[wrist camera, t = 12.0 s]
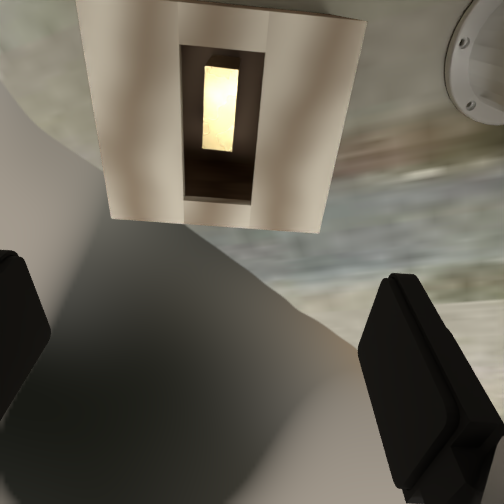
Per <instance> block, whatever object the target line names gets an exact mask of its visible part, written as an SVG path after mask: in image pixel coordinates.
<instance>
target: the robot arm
mask: <svg viewBox="0 0 504 504" xmlns="http://www.w3.org/2000/svg"><path fill="white" fill-rule="evenodd" d="M461 39H462V43H461V44H460V45H459V42H460V41H461ZM445 81H446V88H447V91H448V94H449V96H450V99H451V101H452V102H453V103H454V105H455V106H456V108H457V109H458V110H459V111H460V112H462V113H463V114H464V115H465V116H467V117H469V118H471V119H473V120H474V121H477V122H480V123H483V124H488V125H504V0H474V1H473V2H472V4H471V5H470V6H469V8H468V9H467V10H466V12H465V13H464V15H463V17H462V18H461V20H460V22H459V24H458V25H457V27H456V29H455V31H454V34H453V37H452V39H451V42H450V44H449V48H448V52H447V57H446V61H445ZM468 103H469V104H468ZM467 104H468V105H467ZM50 335H51V329H50V326H49V323H48V321H47V318H46V315H45V313H44V310H43V307H42V305H41V302H40V299H39V297H38V294H37V292H36V289H35V286H34V284H33V281H32V278H31V276H30V273H29V271H28V268H27V265H26V263H25V261H24V259H23V258H22V257H19V256H18V254H17V253H16V252H15V251H11V250H0V420H1V419H2V417H3V415H4V414H5V412H6V410H7V409H8V407H9V406H10V404H11V402H12V401H13V399H14V397H15V396H16V394H17V392H18V391H19V389H20V388H21V386H22V384H23V383H24V381H25V379H26V377H27V376H28V374H29V373H30V371H31V369H32V368H33V366H34V364H35V363H36V361H37V360H38V358H39V356H40V355H41V353H42V351H43V350H44V348H45V346H46V345H47V343H48V341H49V339H50ZM358 357H359V361H360V364H361V368H362V372H363V375H364V379H365V383H366V386H367V390H368V393H369V397H370V400H371V404H372V407H373V411H374V414H375V418H376V422H377V425H378V429H379V432H380V436H381V439H382V443H383V447H384V450H385V454H386V457H387V461H388V464H389V468H390V471H391V475H392V478H393V481H394V484H395V486H396V487H397V488H399V489H402V490H403V494H404V497H405V501H406V503H412V504H504V423H503V421H502V420H501V418H500V416H499V414H498V413H497V411H496V409H495V408H494V406H493V404H492V402H491V401H490V399H489V397H488V395H487V394H486V392H485V390H484V389H483V387H482V385H481V383H480V382H479V380H478V378H477V376H476V375H475V373H474V371H473V370H472V368H471V366H470V364H469V363H468V361H467V359H466V357H465V356H464V354H463V352H462V351H461V349H460V347H459V345H458V344H457V342H456V340H455V339H454V337H453V335H452V333H451V332H450V331H449V330H448V329H447V328H446V326H445V325H444V323H443V321H442V319H441V318H440V316H439V314H438V312H437V311H436V309H435V307H434V305H433V304H432V302H431V300H430V298H429V297H428V295H427V293H426V291H425V290H424V288H423V286H422V284H421V283H420V281H419V279H418V278H417V276H416V275H414V274H400V273H392V274H390V275H389V277H388V278H384V279H383V280H382V281H381V284H380V287H379V289H378V292H377V295H376V298H375V300H374V303H373V306H372V309H371V312H370V314H369V317H368V320H367V323H366V326H365V328H364V331H363V334H362V337H361V339H360V342H359V345H358Z"/></svg>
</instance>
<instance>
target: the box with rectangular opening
mask: <svg viewBox="0 0 504 504" xmlns="http://www.w3.org/2000/svg"><path fill="white" fill-rule="evenodd" d="M75 1H76V7H77V13H78V19H79V25H80V31H81V37H82V43H83V49H84V55H85V62H86V68H87V74H88V80H89V86H90V92H91V98H92V104H93V110H94V116H95V123H96V129H97V135H98V141H99V147H100V153H101V159H102V165H103V171H104V177H105V184H106V189H107V196H108V202H109V208H110V213H111V219H124V220H138V221H152V222H166V223H180V224H194V225H208V226H221V227H235V228H249V229H263V230H277V231H291V232H305V233H319V231H320V227H321V223H322V218H323V214H324V209H325V205H326V201H327V196H328V192H329V188H330V183H331V179H332V175H333V170H334V166H335V162H336V157H337V153H338V148H339V144H340V140H341V135H342V131H343V127H344V122H345V118H346V114H347V109H348V105H349V100H350V96H351V92H352V87H353V83H354V79H355V74H356V70H357V66H358V61H359V57H360V53H361V48H362V44H363V39H364V35H365V31H366V26H367V22H368V21H362V20H357V19H352V18H346V17H341V16H336V15H330V14H321V13H312V12H302V11H292V10H283V9H273V8H264V7H254V6H244V5H235V4H225V3H215V2H206V1H196V0H75ZM213 54H214V55H222V56H230V57H238V58H241V60H240V73H239V85H238V97H237V110H236V122H235V132H234V140H233V148H232V152H231V151H222V150H212V149H203V148H202V144H203V111H204V78H205V65H206V63H207V62H208V61H209V59H210V58H211V56H212V55H213Z"/></svg>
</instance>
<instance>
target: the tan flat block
mask: <svg viewBox="0 0 504 504" xmlns="http://www.w3.org/2000/svg"><path fill="white" fill-rule="evenodd" d="M240 60H241V58H238V57H230V56H222V55H214V54H213V55H212V56H211V58H210V59H209V61H208V62H207V63H206V65H205V78H204V111H203V144H202V148H203V149H212V150H222V151H231V152H232V148H233V140H234V132H235V122H236V110H237V97H238V85H239V73H240Z"/></svg>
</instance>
